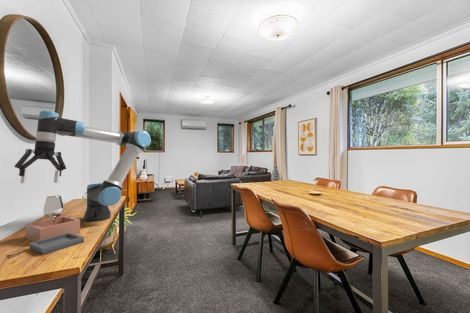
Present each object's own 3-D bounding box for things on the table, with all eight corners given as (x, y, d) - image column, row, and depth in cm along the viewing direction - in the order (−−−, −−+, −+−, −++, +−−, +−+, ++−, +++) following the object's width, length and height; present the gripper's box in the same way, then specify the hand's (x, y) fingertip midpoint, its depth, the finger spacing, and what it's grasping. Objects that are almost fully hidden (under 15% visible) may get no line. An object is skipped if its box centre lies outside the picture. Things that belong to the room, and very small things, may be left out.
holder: (64, 228, 117) (64, 215, 117) (80, 233, 110) (80, 219, 110) (25, 237, 103) (25, 223, 103) (39, 244, 95) (40, 228, 95)
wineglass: (66, 233, 109) (67, 195, 109) (49, 239, 101) (49, 198, 102) (57, 232, 111) (57, 194, 112) (39, 237, 104) (39, 197, 104)
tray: (69, 237, 104) (69, 232, 104) (83, 242, 98) (83, 236, 98) (29, 248, 90) (29, 243, 90) (42, 255, 84) (42, 249, 84)
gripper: (67, 144, 119) (63, 181, 117) (8, 136, 96) (1, 183, 94) (76, 144, 116) (72, 182, 115) (17, 136, 93) (11, 184, 91)
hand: (40, 182), depth 104 cm, fingers open, 13 cm apart
